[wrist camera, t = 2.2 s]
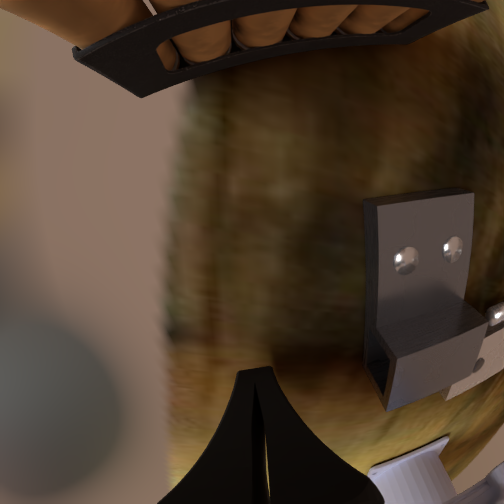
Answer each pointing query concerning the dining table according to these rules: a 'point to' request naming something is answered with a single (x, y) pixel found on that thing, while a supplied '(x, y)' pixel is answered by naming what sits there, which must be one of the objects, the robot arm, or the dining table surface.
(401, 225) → the loose leaf
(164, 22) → the ammunition clip
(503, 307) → the fixed leaf
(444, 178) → the dining table surface
